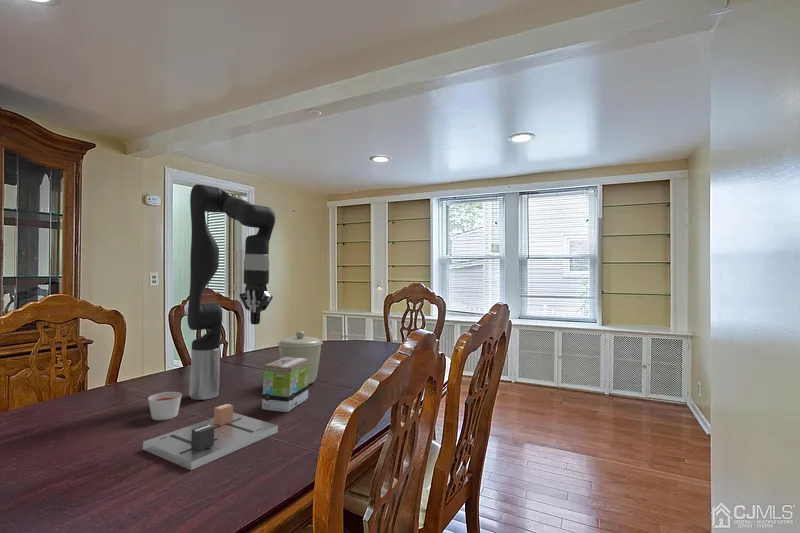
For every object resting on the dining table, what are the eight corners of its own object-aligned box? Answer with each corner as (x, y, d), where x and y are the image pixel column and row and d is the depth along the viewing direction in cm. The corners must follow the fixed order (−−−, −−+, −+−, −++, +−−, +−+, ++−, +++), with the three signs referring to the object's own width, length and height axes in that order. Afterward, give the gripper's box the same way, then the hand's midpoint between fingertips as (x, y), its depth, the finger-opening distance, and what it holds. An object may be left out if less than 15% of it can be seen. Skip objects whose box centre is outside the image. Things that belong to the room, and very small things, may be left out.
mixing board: (142, 449, 104) (143, 441, 104) (231, 418, 126) (231, 411, 126) (191, 470, 94) (191, 461, 94) (277, 432, 116) (277, 425, 116)
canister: (298, 391, 155) (300, 335, 155) (266, 383, 164) (267, 331, 165) (331, 381, 170) (332, 330, 170) (299, 374, 180) (300, 326, 180)
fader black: (191, 448, 100) (191, 429, 100) (206, 442, 104) (206, 424, 104) (198, 451, 99) (199, 431, 99) (213, 445, 102) (214, 426, 102)
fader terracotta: (213, 423, 116) (214, 407, 116) (226, 419, 120) (226, 403, 120) (220, 425, 115) (221, 409, 115) (232, 421, 118) (233, 405, 118)
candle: (187, 414, 129) (188, 394, 129) (160, 424, 121) (161, 402, 121) (168, 409, 133) (169, 390, 133) (141, 418, 124) (141, 398, 124)
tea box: (289, 412, 132) (290, 367, 132) (261, 410, 134) (262, 364, 134) (309, 398, 147) (310, 357, 147) (283, 396, 149) (284, 355, 149)
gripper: (232, 268, 129) (231, 323, 129) (261, 269, 122) (260, 327, 122) (251, 268, 135) (250, 321, 135) (280, 269, 129) (279, 324, 129)
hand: (255, 324), depth 129 cm, fingers closed
